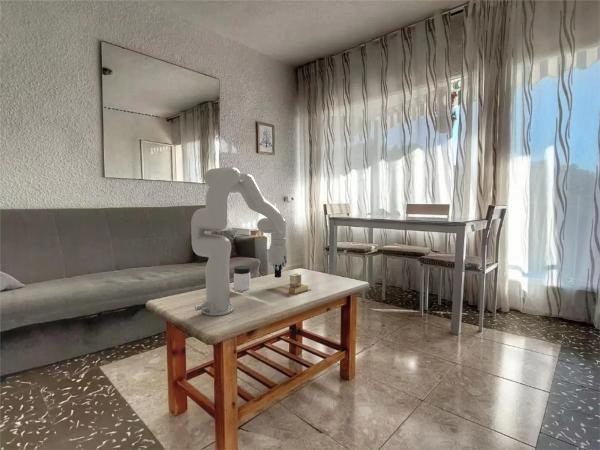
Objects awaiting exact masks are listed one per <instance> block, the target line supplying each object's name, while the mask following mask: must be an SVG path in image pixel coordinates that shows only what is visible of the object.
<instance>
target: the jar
mask: <svg viewBox="0 0 600 450" xmlns="http://www.w3.org/2000/svg"><path fill="white" fill-rule="evenodd" d="M251 282H252V281H251V267H250V266H249V265H237V266H234V268H233V292H235V293H241V294H242V293H244V292H243V291H246V290H250V289H251V287H252V286H251V284H252V283H251Z"/></svg>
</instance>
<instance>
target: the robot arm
mask: <svg viewBox="0 0 600 450" xmlns="http://www.w3.org/2000/svg"><path fill="white" fill-rule="evenodd" d="M204 183H205V184H206V185H207V187H208V188H207V190H206V194H205V195H206V196H205V207H203V208H202V207H201V208H199V209H196V210H195V212H193V214H192V216H191V219H190V220H191V221H190V222H191V225H190V226H191V227H190V231H191V232H190V233H191V248H192V251H193V253H195V255H197V256H198V257H205V258H208V260H207V263H206V265H205V269H204V270H205V271H204V272H205V273H204V274H205V297H206V300H204V301H203V303H202V304H199V305H195V306H194V310H195V312H198V311H201V312H202V313H203V314H204V315H206V316H211V317H212V316H215V317H216V316H224V315H227V314H230V313H232V312H233V311H235V310H234V309H235V306H234V305H233V304H231V293H230V292H231V287H230V285H231V284H230V281H231V280H230V261H231V260H230V259H231V253H232V242H231V240H230V239H229V238H228V237H227V236H224V235H220V234H212V232H217V233H218V232H222V231H225V230H226V228H227V227H228V199H229V198H228V197H229V194H230V193H239V194H240V195H241V197H242V198H243V201H244V202H245V204H246V206H247V207H248V208H249V210H251V211H253V212H256V214H257V213H258V214H260V215H263V216H264V217H263V218H260V219H259V220H258V221H257V224H256V228H257V229H258V231H259V232H260V233H263V234H270V245H269V249H268V263H269V264H270V265H271V266H273V269H274V278H282V270H283V268H286V267H287V266H286V265H287V262H288V252H287V245H286V238H287V237H286V235H287V234H286V233H287V221H286V219H285V218H284V217H283V216H282V214H281V212H280V211H279V209H278V208H277V207H275V206H274V205H273V204H272V203H271V202H270V201H268V200H267V199H266V198H265V197H264V195H263V193H262V192H261V190H260V188H259V185H258V184H257V183H256V181H255V178H254V177H253V175H251V174H250V173H241V171H240V170H239V169H238V168H236V167H235V166H234V167H233V166H223V167H217V168H214V167H213V168H210V169H208V170H206V172H205V173H204Z"/></svg>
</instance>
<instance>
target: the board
mask: <svg viewBox="0 0 600 450" xmlns="http://www.w3.org/2000/svg"><path fill="white" fill-rule="evenodd" d="M289 287H290V283H287V284H283V285H279V286H276V287H272V288H271V287H270V288H268V289H265V291H267V292H269V293H273V294H276V295H278V296H282V297H285V298H291V297H295V296H298V295H301V294H304V293H307V292H310V291H313V289H311V288H308V291H304V292H301V293H297V294H292V293H289Z"/></svg>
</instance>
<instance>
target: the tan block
mask: <svg viewBox="0 0 600 450" xmlns="http://www.w3.org/2000/svg"><path fill="white" fill-rule="evenodd" d="M289 284H290V287H294V288H296V287H300V286H301V284H302V274H300V273H291V274H289Z"/></svg>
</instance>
